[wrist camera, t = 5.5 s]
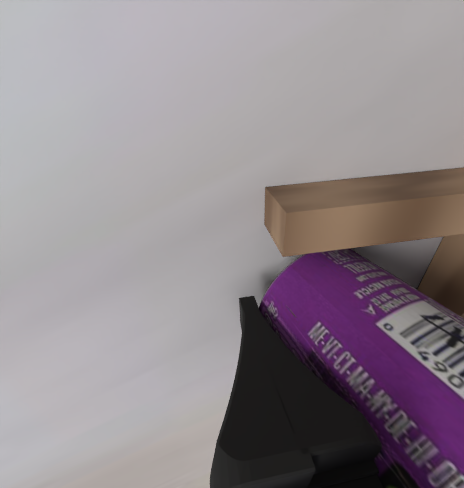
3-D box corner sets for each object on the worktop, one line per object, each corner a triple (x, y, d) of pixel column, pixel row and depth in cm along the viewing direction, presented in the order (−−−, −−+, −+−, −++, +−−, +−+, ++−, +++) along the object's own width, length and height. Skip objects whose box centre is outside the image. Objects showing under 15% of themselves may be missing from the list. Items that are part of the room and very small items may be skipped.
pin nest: (614, 22, 10) (945, -38, 5) (408, 360, 22) (457, 420, 18) (269, 35, 8) (347, -30, 4) (260, 386, 21) (277, 458, 17)
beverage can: (226, 323, 13) (553, 973, 3) (309, 216, 11) (1306, 786, 2) (298, 341, 17) (535, 647, 7) (365, 264, 15) (762, 516, 6)
